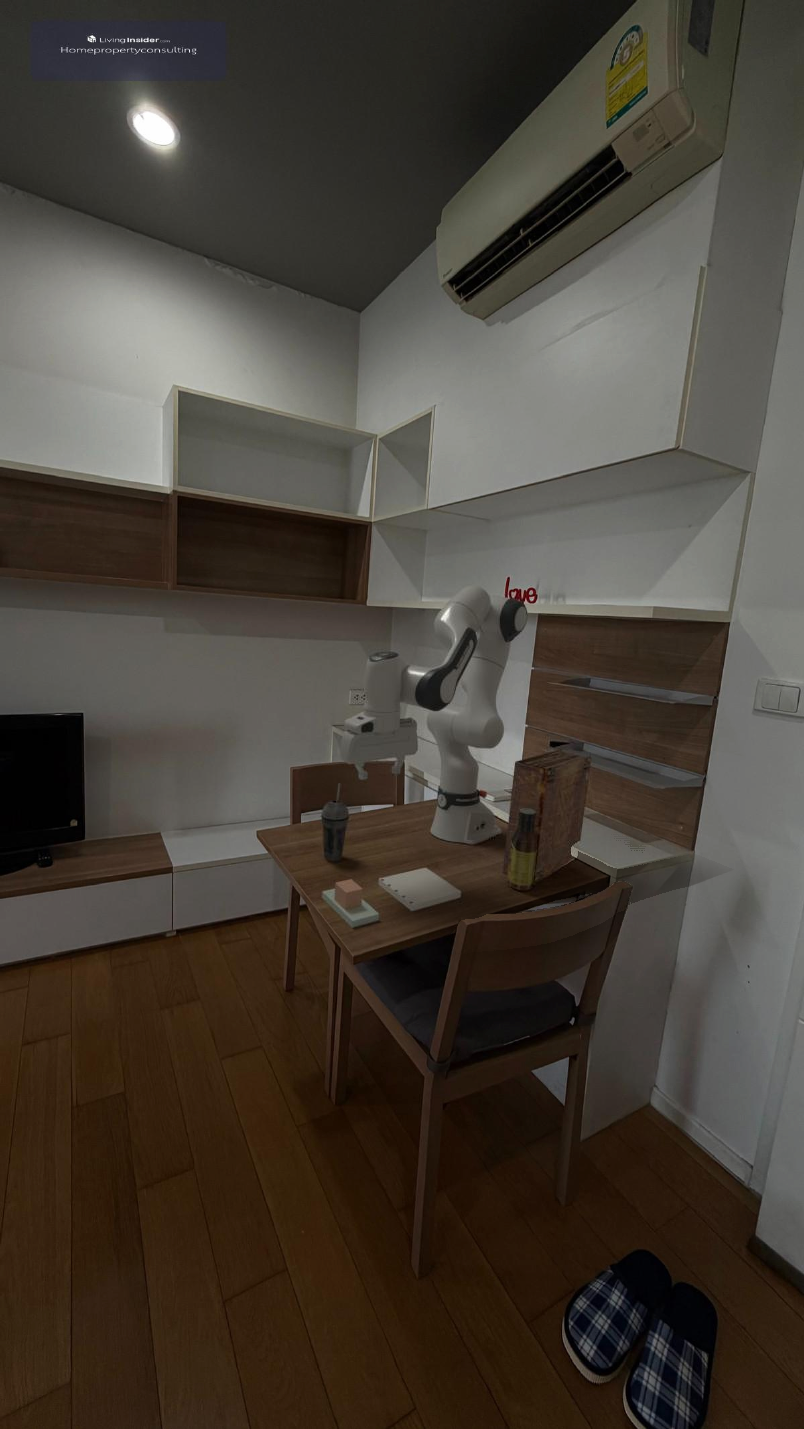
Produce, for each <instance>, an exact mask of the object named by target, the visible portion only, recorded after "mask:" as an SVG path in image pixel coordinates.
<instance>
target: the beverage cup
mask: <svg viewBox="0 0 804 1429" xmlns="http://www.w3.org/2000/svg"><path fill="white" fill-rule="evenodd" d="M340 789H341V783H338V785H337V793H336V799H335V800H331V801H328V802H326V804H324V806H323V809H322V811H321V816H320V818H321V823H322V824H321V825H322V837H323V838H322V840H323V841H322V843H323V854H324V856H323V857H324V858H323V859H325V860H326V861H328V862H339V861H341V860H342V856H343V853H344V852H343V851H344V844H345V838H346V832H347V825H348V823H349V818H350V813H349V809H348V807H347V805H346V804H345V803H344V802H342V801H341V800H340V798H339V797H340V793H341V792H340Z"/></svg>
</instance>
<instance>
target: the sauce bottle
mask: <svg viewBox="0 0 804 1429" xmlns="http://www.w3.org/2000/svg"><path fill="white" fill-rule="evenodd" d="M535 817H536V811H534V810H533V809H529V808H522V809H520V810H519V823H518V827H517V829H516V831H515V833H514V835H513V837H512V840H511V849H510V859H509V869H508V874H507V884H508V886H509V887H510V888H512V889H514V890H517V891H522V892H524V891H528V890H530V889H532V886H533V884H532V882H533V878H534V869H535V860H536V851H537V848H536V846H537V836H536V834H535V832H534V830H533V829H534V820H535Z"/></svg>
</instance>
